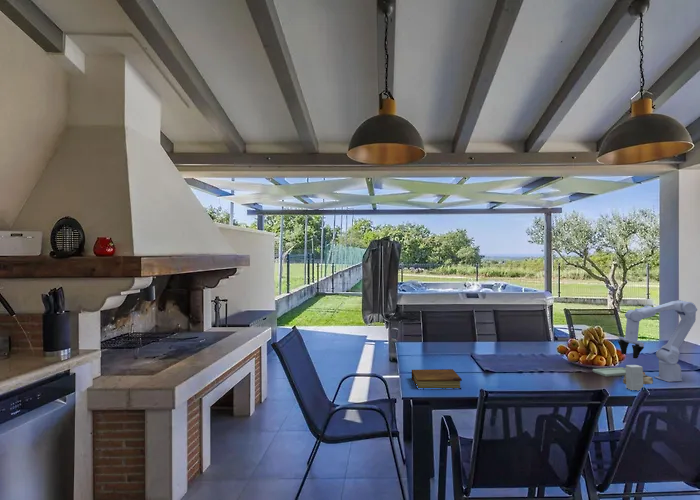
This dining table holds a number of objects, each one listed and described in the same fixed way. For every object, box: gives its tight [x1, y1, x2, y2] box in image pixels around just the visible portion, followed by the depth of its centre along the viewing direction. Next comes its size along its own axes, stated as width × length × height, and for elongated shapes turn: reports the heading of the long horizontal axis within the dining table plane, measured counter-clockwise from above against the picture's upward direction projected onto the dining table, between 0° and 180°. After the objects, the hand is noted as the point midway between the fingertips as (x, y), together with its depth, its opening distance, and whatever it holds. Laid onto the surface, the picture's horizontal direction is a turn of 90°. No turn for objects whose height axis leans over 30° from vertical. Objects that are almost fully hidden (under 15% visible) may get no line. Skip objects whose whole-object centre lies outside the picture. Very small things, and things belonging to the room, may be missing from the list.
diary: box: [411, 368, 463, 388], centre depth 213 cm, size 23×19×6 cm
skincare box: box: [625, 364, 644, 392], centre depth 200 cm, size 6×4×12 cm
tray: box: [592, 367, 626, 378], centre depth 228 cm, size 20×10×2 cm, turn 98°
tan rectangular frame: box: [622, 374, 654, 385], centre depth 211 cm, size 14×5×3 cm, turn 98°
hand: (629, 356), depth 219 cm, fingers open, 7 cm apart
